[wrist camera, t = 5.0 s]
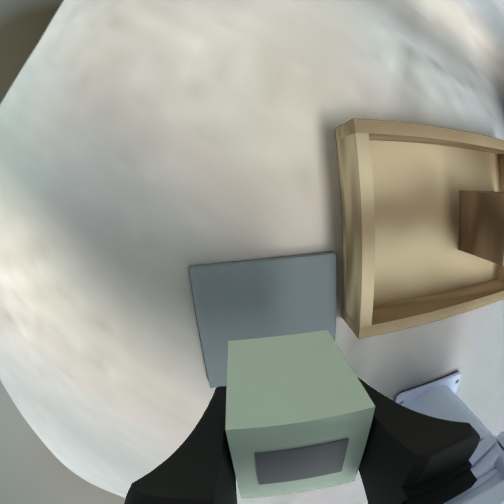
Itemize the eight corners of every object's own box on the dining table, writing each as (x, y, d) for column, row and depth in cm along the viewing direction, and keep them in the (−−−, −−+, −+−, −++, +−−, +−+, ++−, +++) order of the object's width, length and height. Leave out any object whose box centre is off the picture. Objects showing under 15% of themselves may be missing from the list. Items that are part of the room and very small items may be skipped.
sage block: (327, 329, 13) (376, 408, 7) (323, 402, 14) (355, 482, 8) (228, 340, 13) (225, 432, 7) (238, 412, 14) (241, 500, 8)
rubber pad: (331, 368, 20) (333, 372, 20) (210, 382, 20) (210, 387, 19) (332, 251, 18) (335, 253, 18) (190, 265, 18) (189, 268, 17)
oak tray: (495, 283, 20) (516, 293, 17) (342, 318, 19) (358, 338, 16) (498, 146, 17) (522, 145, 14) (335, 128, 17) (353, 118, 14)
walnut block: (494, 244, 18) (534, 257, 14) (457, 249, 18) (502, 265, 13) (495, 191, 17) (538, 196, 13) (458, 190, 17) (506, 195, 12)
